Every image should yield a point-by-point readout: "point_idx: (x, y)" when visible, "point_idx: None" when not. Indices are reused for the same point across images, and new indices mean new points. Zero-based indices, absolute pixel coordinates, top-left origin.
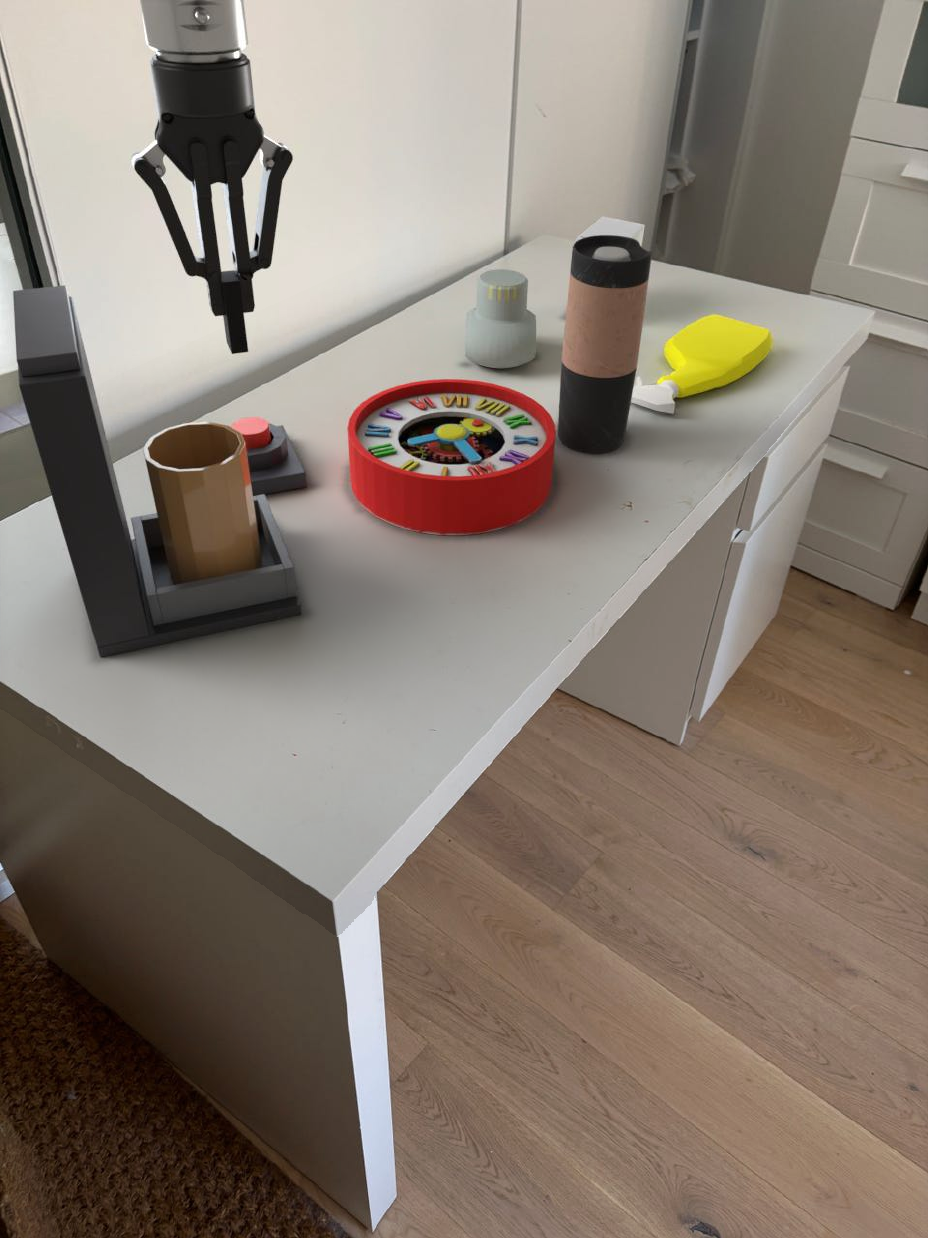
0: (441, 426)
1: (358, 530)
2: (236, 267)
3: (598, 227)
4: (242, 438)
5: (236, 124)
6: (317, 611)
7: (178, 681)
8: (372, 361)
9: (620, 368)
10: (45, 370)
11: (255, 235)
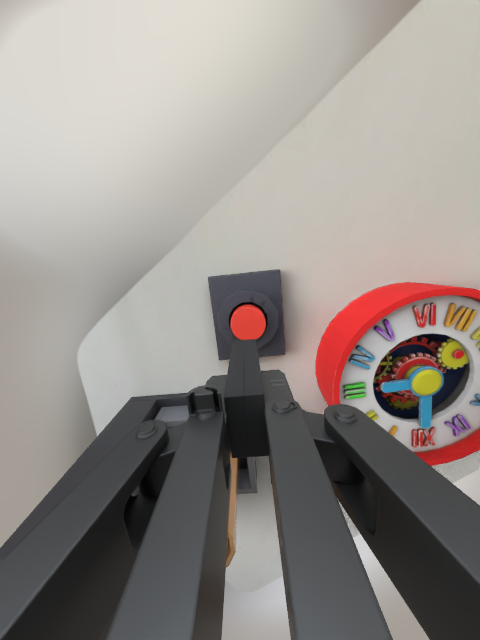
0: (422, 373)
1: (307, 408)
2: (269, 454)
3: None
4: (233, 545)
5: None
6: (265, 472)
7: None
8: (413, 94)
9: None
10: None
11: (366, 475)
